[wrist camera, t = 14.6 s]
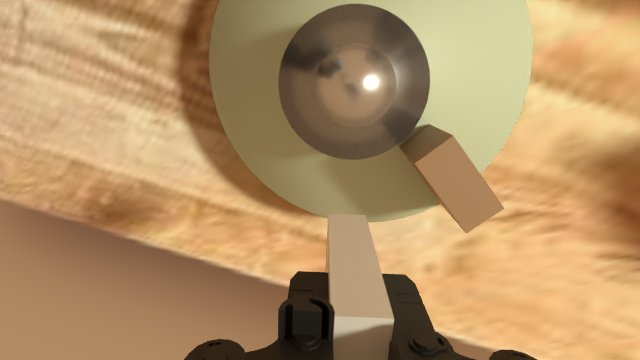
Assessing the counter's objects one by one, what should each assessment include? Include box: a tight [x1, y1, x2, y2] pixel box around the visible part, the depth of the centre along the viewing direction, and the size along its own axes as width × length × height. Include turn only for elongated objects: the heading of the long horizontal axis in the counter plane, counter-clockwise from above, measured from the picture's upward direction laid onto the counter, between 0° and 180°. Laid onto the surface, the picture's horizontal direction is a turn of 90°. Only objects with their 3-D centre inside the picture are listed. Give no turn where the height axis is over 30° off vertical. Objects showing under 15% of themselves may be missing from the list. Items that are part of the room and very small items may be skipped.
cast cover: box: [278, 4, 430, 160], centre depth 21 cm, size 8×8×6 cm
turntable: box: [209, 0, 533, 233], centre depth 22 cm, size 20×20×7 cm
